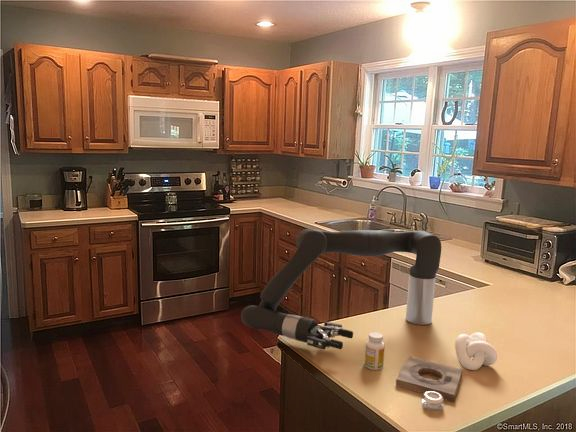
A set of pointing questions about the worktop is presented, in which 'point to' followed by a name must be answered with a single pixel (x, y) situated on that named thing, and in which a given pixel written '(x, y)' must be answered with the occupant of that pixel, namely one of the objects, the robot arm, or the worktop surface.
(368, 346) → the supplement bottle
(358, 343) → the worktop surface
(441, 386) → the socket board
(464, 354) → the white knot
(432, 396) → the metal grooved wheel
